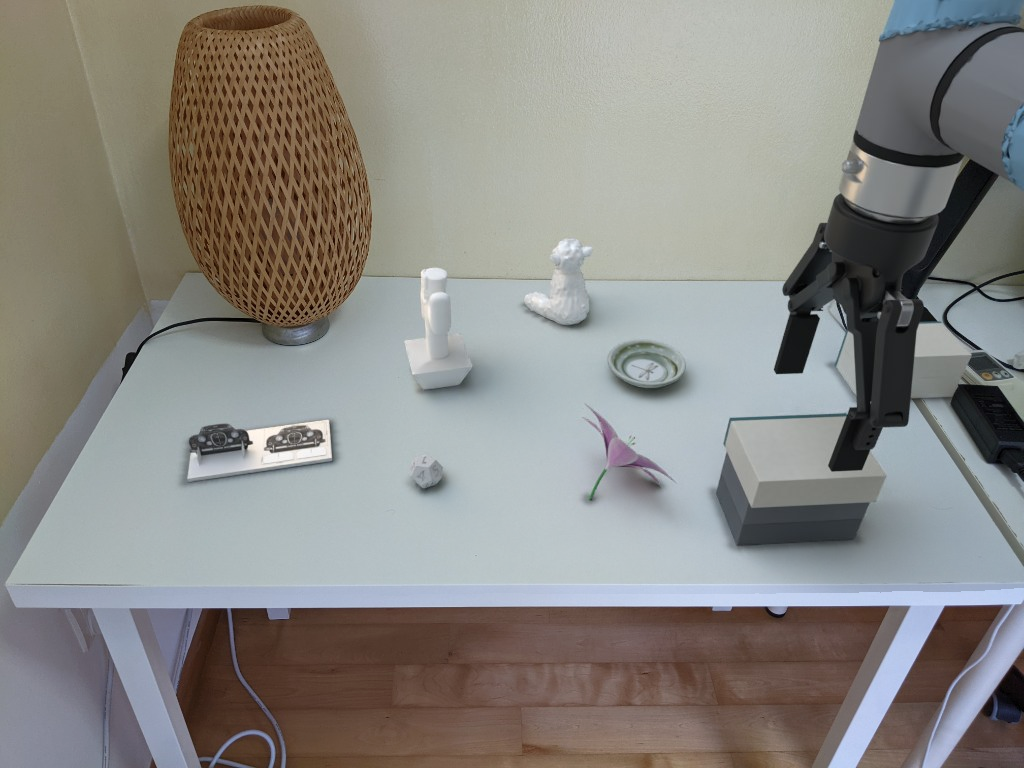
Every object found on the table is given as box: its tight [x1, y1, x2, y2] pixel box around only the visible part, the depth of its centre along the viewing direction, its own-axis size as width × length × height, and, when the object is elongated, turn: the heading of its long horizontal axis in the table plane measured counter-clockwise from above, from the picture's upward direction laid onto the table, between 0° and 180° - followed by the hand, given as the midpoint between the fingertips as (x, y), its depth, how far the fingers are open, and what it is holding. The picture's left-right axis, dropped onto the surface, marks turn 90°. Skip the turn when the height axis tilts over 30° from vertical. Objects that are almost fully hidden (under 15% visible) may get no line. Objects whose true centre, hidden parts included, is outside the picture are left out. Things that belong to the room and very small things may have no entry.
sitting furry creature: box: [524, 237, 594, 326], centre depth 105 cm, size 10×9×12 cm
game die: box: [407, 453, 444, 489], centre depth 82 cm, size 4×4×3 cm
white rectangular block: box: [834, 320, 973, 399], centre depth 96 cm, size 12×7×6 cm, turn 94°
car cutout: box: [186, 418, 333, 483], centre depth 84 cm, size 15×7×4 cm, turn 103°
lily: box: [581, 402, 678, 501], centre depth 80 cm, size 12×12×10 cm
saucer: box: [606, 338, 687, 389], centre depth 97 cm, size 10×10×2 cm
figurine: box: [403, 267, 474, 391], centre depth 92 cm, size 7×9×15 cm
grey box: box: [715, 451, 871, 546], centre depth 77 cm, size 12×7×6 cm, turn 94°
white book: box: [722, 412, 887, 508], centre depth 75 cm, size 12×9×4 cm
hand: (814, 416), depth 71 cm, fingers open, 13 cm apart
